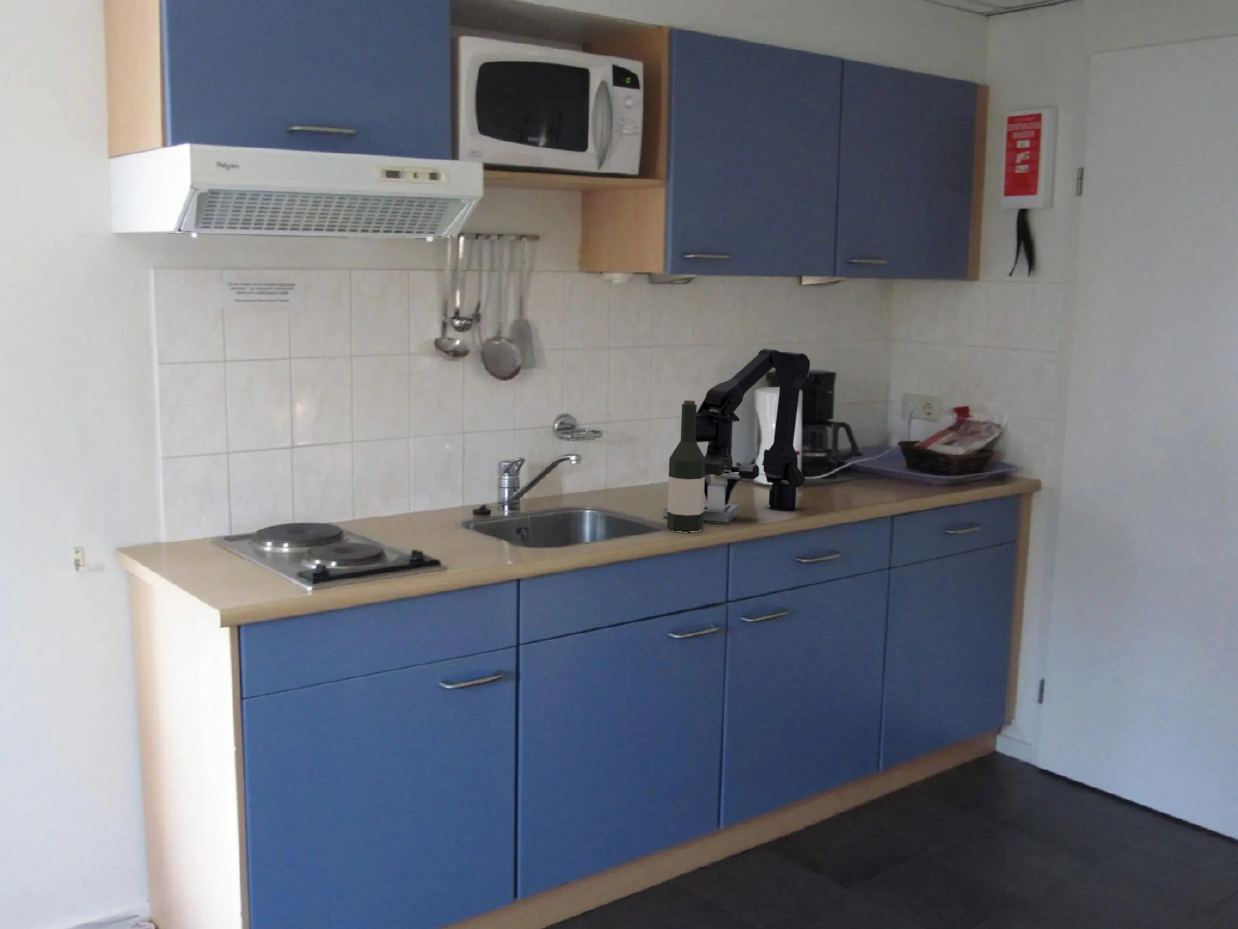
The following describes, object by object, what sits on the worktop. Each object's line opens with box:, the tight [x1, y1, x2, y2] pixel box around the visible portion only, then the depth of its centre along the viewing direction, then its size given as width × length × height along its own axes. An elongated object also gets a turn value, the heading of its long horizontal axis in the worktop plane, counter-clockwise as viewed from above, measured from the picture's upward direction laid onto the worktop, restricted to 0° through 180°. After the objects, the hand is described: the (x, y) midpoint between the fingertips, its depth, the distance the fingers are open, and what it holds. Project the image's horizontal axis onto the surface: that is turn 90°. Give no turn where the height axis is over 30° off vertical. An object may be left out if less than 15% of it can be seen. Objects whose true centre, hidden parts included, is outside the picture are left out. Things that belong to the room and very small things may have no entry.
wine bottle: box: [666, 399, 705, 532], centre depth 280 cm, size 8×8×30 cm
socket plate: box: [662, 501, 739, 524], centre depth 297 cm, size 16×11×3 cm
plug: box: [706, 481, 729, 511], centre depth 295 cm, size 4×5×6 cm
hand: (717, 504), depth 296 cm, fingers closed on plug, 4 cm apart
